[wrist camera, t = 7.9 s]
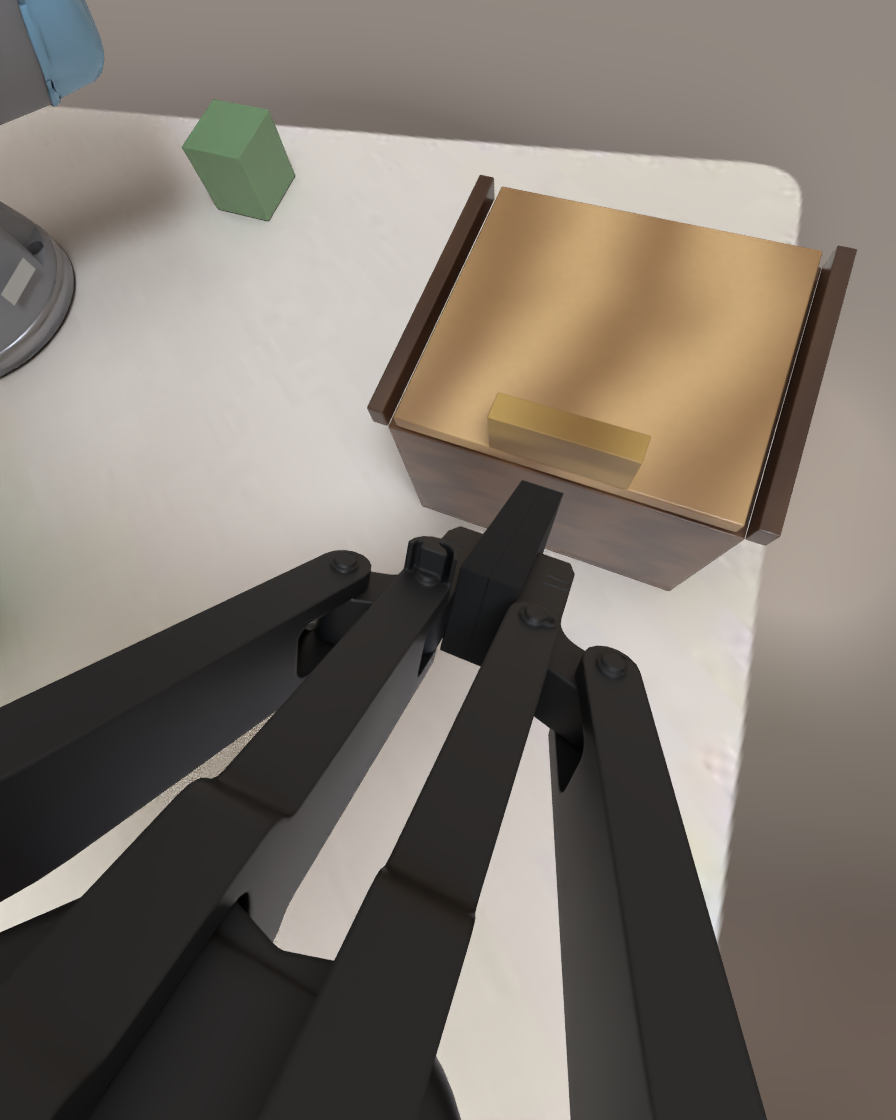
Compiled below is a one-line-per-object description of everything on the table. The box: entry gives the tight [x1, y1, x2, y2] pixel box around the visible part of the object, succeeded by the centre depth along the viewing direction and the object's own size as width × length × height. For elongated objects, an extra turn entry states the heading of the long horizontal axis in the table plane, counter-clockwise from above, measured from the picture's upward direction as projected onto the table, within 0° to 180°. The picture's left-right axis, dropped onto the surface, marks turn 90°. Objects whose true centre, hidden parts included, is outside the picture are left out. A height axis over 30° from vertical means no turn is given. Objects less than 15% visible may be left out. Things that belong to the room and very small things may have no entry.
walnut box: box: [367, 175, 857, 591], centre depth 28 cm, size 18×14×11 cm
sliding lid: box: [394, 187, 822, 532], centre depth 22 cm, size 15×14×3 cm
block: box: [182, 99, 295, 221], centre depth 40 cm, size 5×5×5 cm
